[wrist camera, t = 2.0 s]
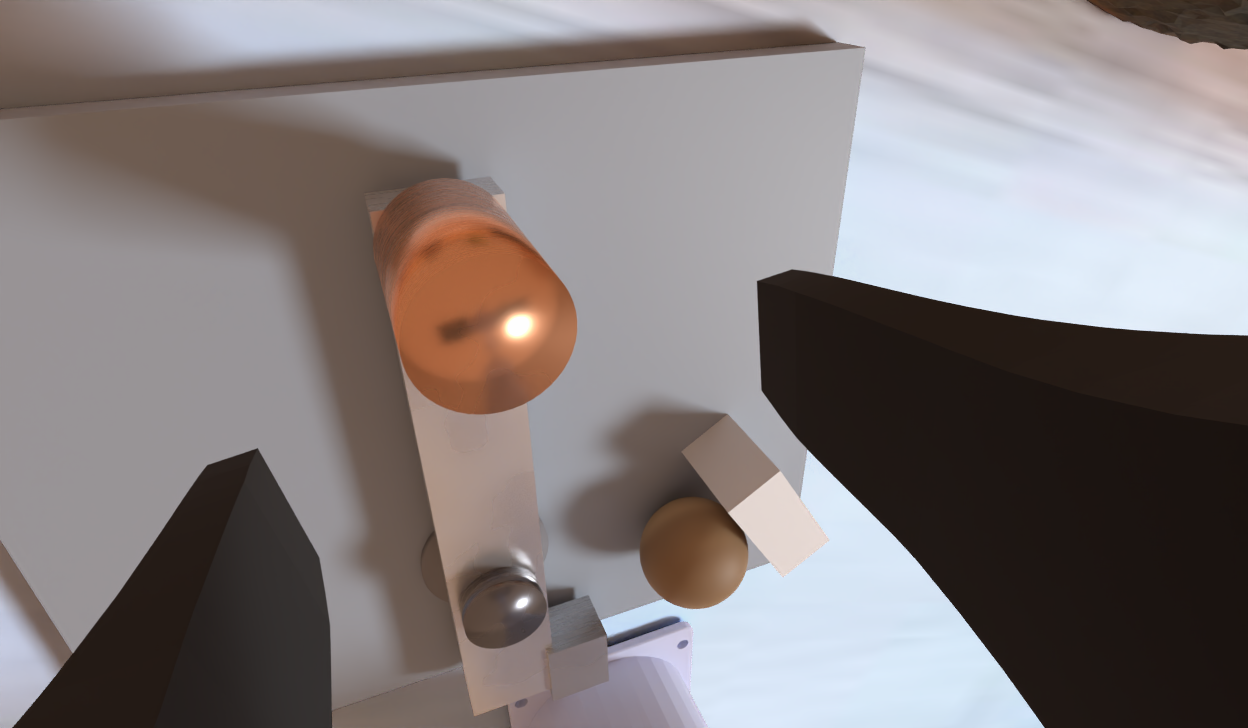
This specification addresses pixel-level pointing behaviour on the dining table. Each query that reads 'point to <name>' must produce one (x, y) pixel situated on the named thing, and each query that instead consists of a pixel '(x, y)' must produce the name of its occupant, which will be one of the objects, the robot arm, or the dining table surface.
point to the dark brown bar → (1187, 19)
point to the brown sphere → (693, 553)
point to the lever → (484, 426)
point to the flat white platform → (362, 332)
